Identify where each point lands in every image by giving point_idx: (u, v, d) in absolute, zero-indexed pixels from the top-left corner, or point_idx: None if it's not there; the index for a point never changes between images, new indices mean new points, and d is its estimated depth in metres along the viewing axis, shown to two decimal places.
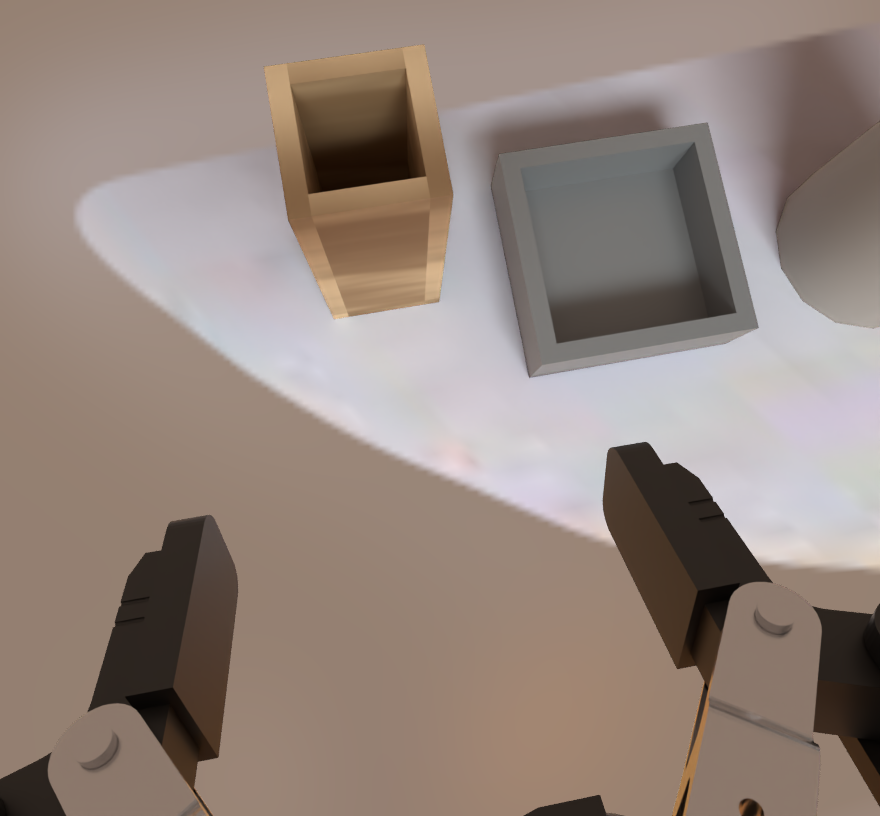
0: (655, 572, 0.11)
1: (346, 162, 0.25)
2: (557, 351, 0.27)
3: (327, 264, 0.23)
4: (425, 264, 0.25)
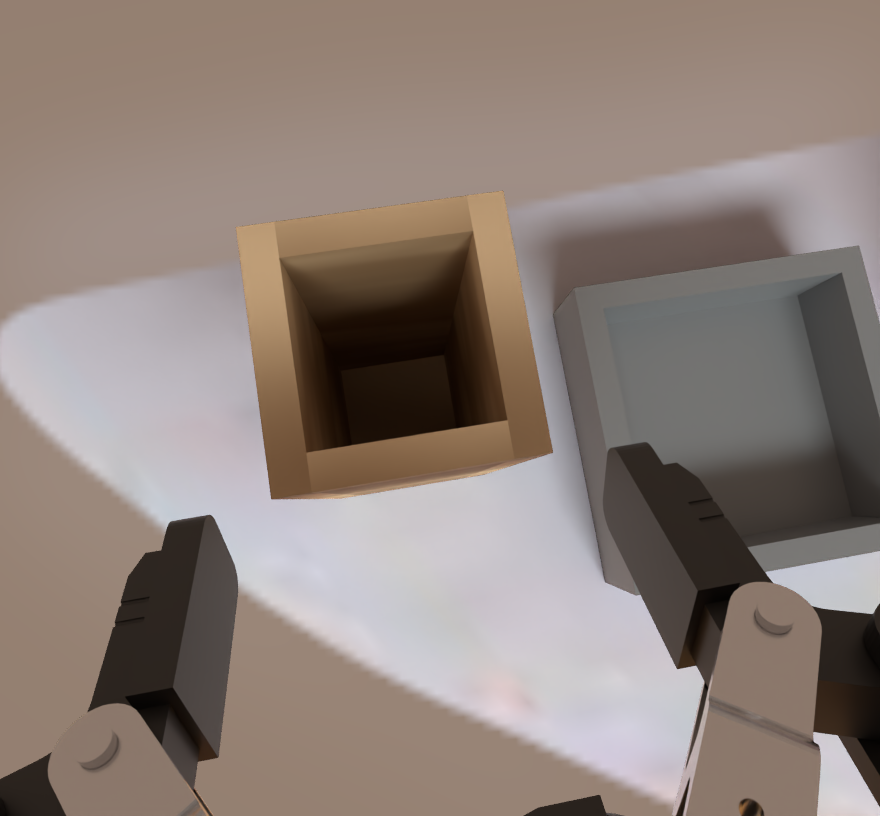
0: (656, 572, 0.11)
1: (364, 323, 0.17)
2: None
3: (334, 494, 0.15)
4: (478, 472, 0.17)
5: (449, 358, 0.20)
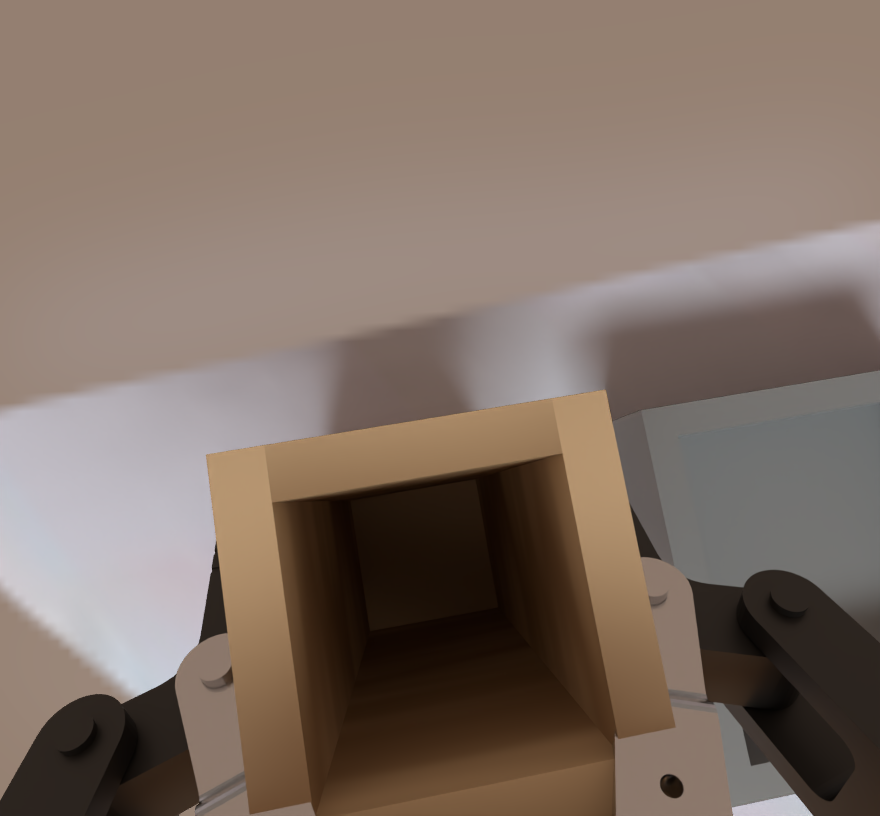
0: None
1: (386, 491, 0.13)
2: (752, 781, 0.15)
3: None
4: None
5: (486, 497, 0.16)
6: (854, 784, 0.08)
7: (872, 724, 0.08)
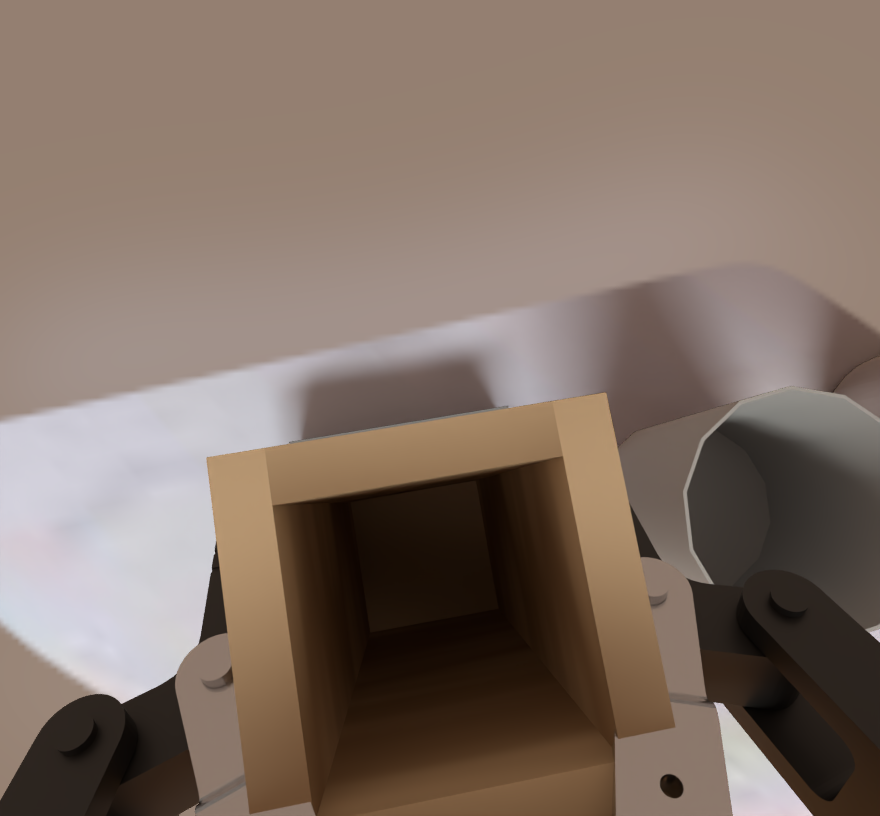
0: None
1: (386, 492, 0.13)
2: None
3: None
4: None
5: (486, 498, 0.16)
6: (854, 784, 0.08)
7: (872, 724, 0.08)
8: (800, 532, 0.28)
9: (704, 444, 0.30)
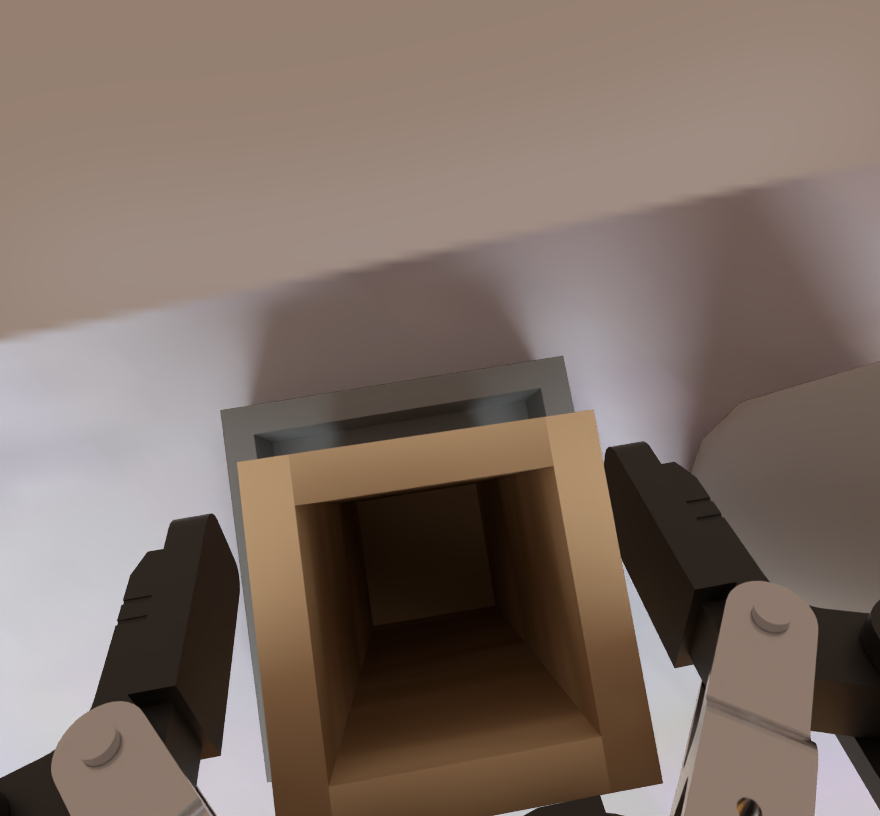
0: (653, 571, 0.11)
1: (392, 494, 0.14)
2: None
3: None
4: None
5: (485, 501, 0.17)
6: None
7: None
8: None
9: None
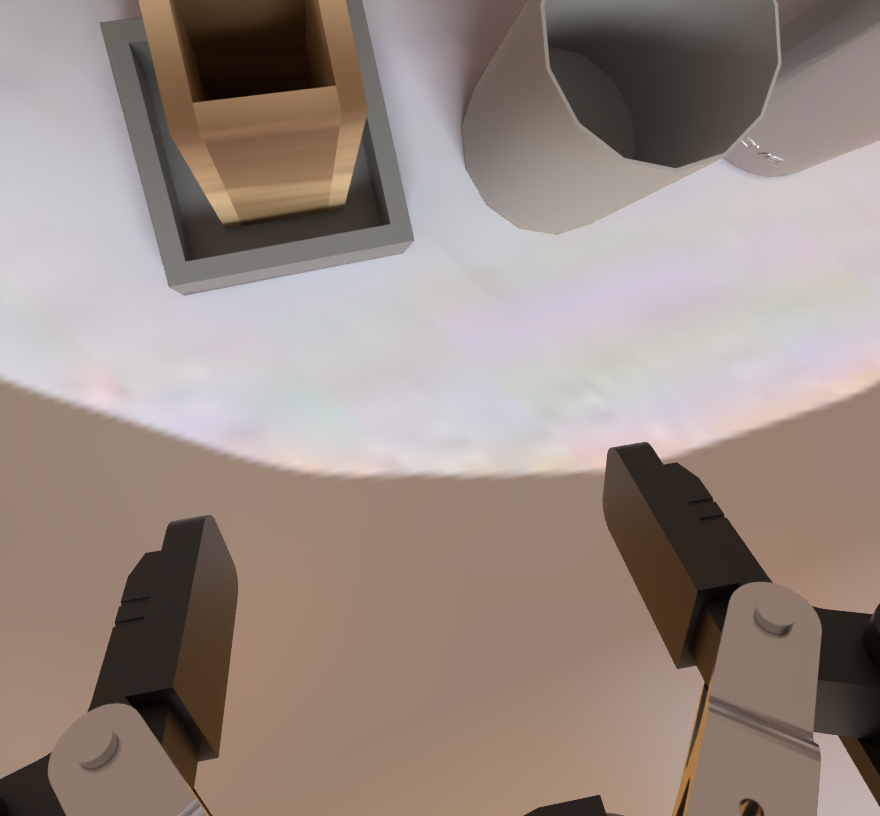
0: (656, 572, 0.11)
1: (231, 46, 0.21)
2: (186, 270, 0.24)
3: (218, 178, 0.20)
4: (331, 176, 0.22)
5: None
6: None
7: None
8: (661, 144, 0.28)
9: (573, 70, 0.29)
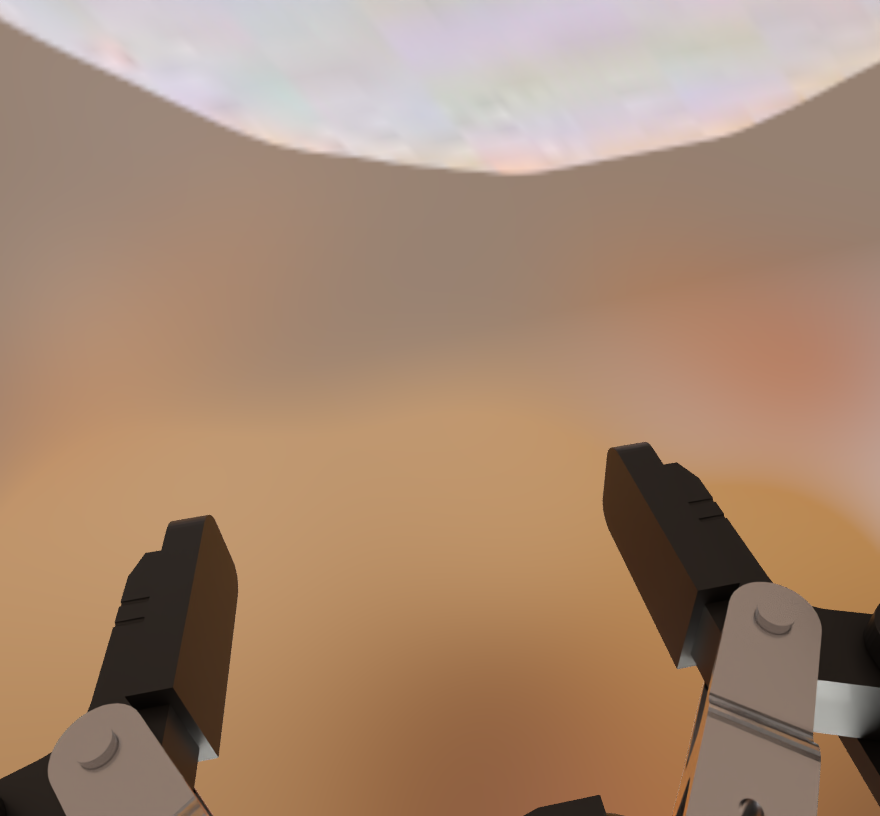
0: (656, 572, 0.11)
1: None
2: None
3: None
4: None
5: None
6: None
7: None
8: None
9: None
